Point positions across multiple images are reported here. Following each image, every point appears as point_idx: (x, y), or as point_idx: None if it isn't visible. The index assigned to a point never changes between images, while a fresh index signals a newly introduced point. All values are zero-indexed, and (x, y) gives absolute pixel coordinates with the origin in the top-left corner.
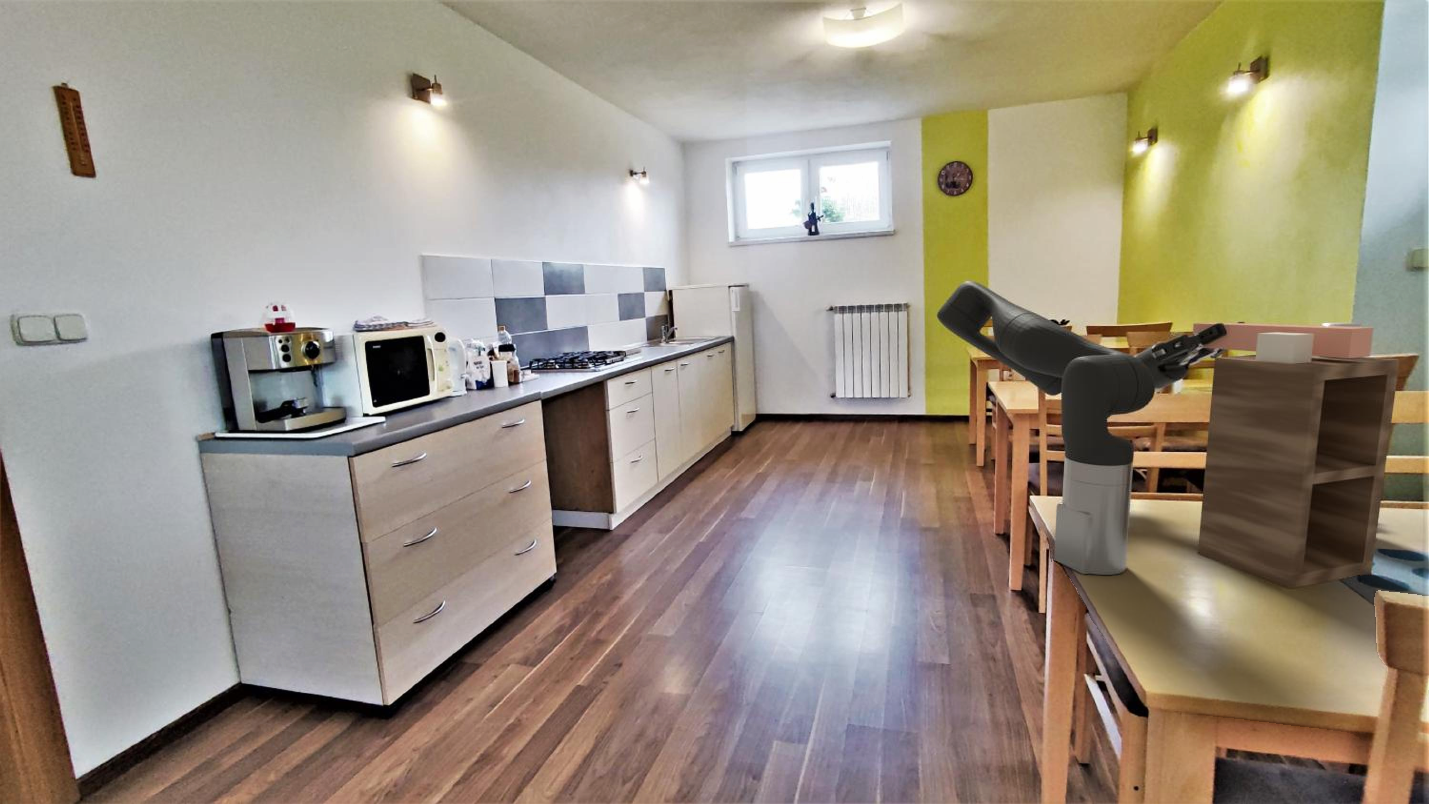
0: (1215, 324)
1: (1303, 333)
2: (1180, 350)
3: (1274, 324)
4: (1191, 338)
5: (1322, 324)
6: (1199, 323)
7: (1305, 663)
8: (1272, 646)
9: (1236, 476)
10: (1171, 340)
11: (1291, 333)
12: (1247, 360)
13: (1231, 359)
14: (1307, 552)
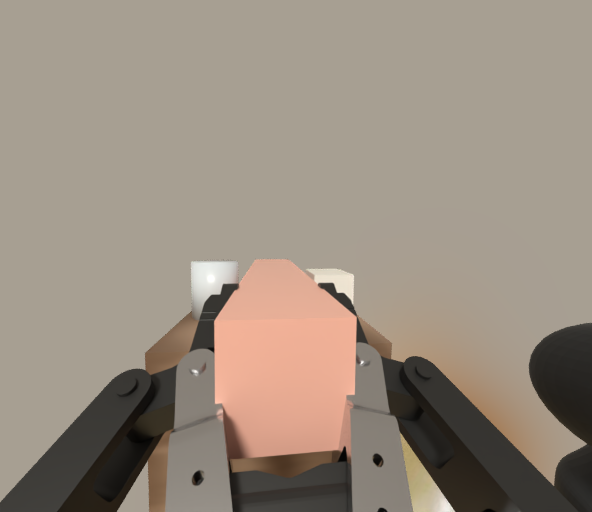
0: (335, 288)
1: (308, 270)
2: (437, 429)
3: (252, 272)
4: (393, 365)
5: (228, 264)
6: (339, 309)
7: (402, 437)
8: (412, 454)
9: None
10: (485, 417)
11: (318, 271)
12: (363, 320)
13: (375, 330)
14: None
